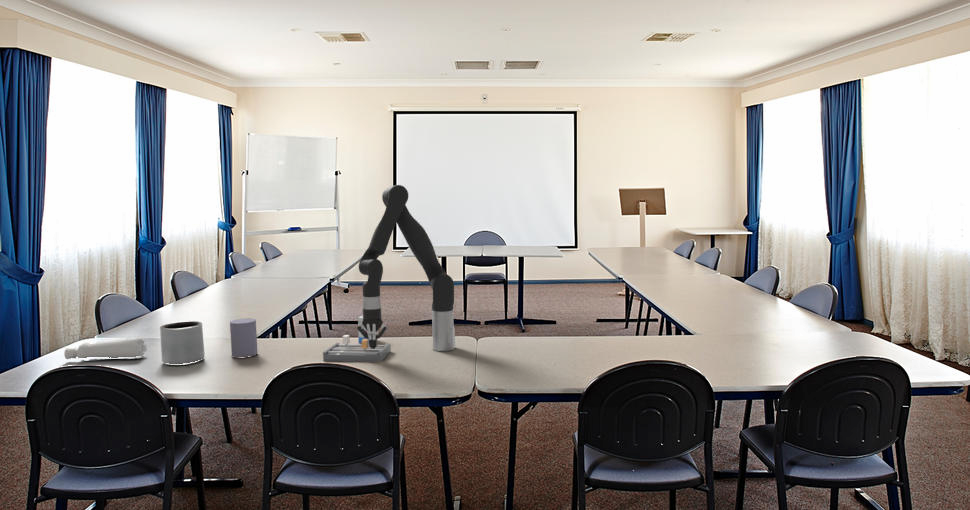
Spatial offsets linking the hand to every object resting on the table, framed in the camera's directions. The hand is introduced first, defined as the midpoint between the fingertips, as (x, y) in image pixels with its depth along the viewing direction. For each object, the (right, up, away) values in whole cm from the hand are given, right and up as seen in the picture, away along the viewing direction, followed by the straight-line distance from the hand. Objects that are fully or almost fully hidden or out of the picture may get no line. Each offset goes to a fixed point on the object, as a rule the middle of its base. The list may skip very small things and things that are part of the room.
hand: (373, 348), depth 265 cm
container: (-56, -5, +9) cm, 57 cm away
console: (-7, -4, +5) cm, 10 cm away
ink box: (-8, -2, +31) cm, 32 cm away
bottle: (-113, -6, +5) cm, 113 cm away
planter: (-78, -6, 0) cm, 79 cm away
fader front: (-3, -2, +1) cm, 4 cm away
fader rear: (-13, -1, +9) cm, 16 cm away
